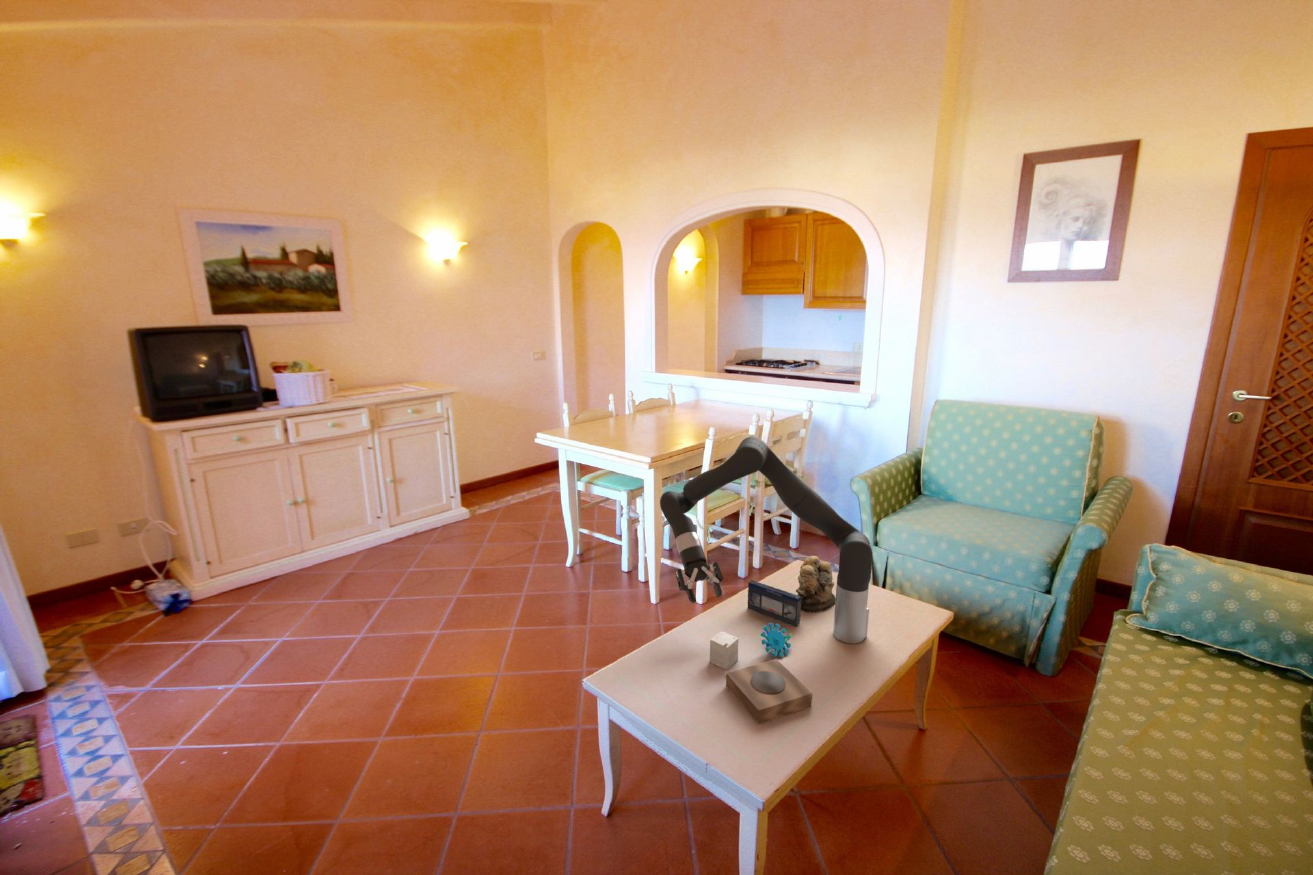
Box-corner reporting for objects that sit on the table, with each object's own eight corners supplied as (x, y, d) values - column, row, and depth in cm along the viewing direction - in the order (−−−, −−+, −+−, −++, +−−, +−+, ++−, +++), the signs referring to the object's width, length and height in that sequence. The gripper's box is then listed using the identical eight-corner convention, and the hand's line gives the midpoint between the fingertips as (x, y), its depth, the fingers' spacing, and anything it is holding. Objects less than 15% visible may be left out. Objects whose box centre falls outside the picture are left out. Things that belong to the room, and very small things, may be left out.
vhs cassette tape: (746, 608, 198) (747, 582, 196) (751, 605, 200) (752, 578, 198) (796, 628, 186) (797, 599, 184) (800, 624, 188) (802, 596, 186)
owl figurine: (812, 618, 192) (815, 570, 188) (783, 605, 200) (785, 559, 197) (843, 600, 203) (846, 554, 199) (814, 588, 212) (817, 544, 208)
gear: (769, 658, 168) (758, 623, 173) (758, 663, 172) (748, 629, 177) (799, 653, 173) (788, 619, 178) (788, 658, 177) (777, 625, 182)
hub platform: (775, 671, 165) (776, 657, 164) (811, 706, 150) (812, 692, 149) (725, 685, 158) (726, 671, 157) (758, 724, 144) (758, 709, 143)
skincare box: (720, 652, 174) (721, 630, 172) (738, 660, 170) (739, 637, 168) (709, 662, 169) (709, 639, 167) (726, 670, 165) (727, 647, 163)
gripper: (673, 548, 178) (689, 600, 170) (714, 541, 183) (732, 590, 176) (666, 557, 184) (681, 608, 176) (706, 550, 189) (723, 598, 182)
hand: (706, 599), depth 176 cm, fingers open, 8 cm apart
